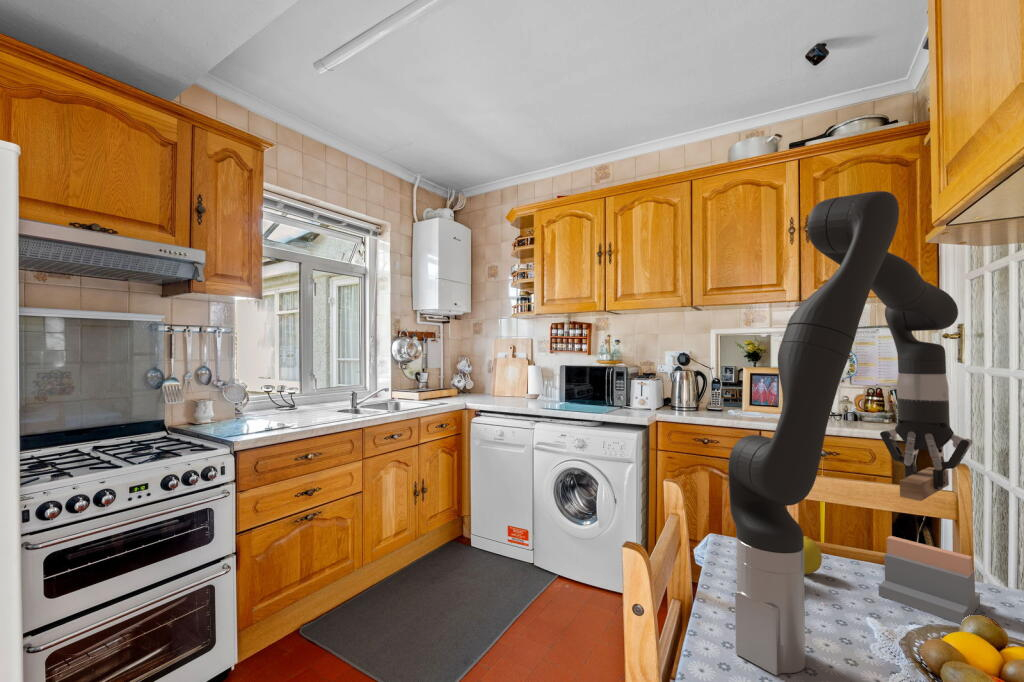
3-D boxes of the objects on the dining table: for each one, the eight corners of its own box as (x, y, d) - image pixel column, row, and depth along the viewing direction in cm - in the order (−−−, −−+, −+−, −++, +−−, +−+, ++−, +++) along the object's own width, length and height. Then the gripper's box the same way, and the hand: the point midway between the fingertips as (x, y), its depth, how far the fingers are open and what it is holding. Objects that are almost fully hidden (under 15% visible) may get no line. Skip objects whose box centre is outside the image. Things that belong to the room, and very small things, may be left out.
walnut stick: (929, 481, 96) (928, 467, 96) (948, 485, 93) (948, 470, 93) (900, 496, 85) (899, 480, 85) (921, 501, 83) (920, 484, 83)
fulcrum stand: (963, 625, 80) (961, 566, 80) (878, 595, 90) (877, 543, 90) (980, 604, 87) (978, 550, 87) (899, 579, 97) (898, 530, 97)
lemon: (828, 580, 96) (827, 541, 96) (801, 580, 96) (800, 541, 96) (811, 568, 101) (810, 531, 101) (785, 568, 101) (785, 531, 102)
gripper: (977, 398, 86) (980, 492, 86) (884, 394, 98) (887, 476, 97) (967, 401, 82) (970, 499, 81) (871, 395, 93) (873, 482, 93)
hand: (925, 486), depth 89 cm, fingers closed on walnut stick, 3 cm apart
